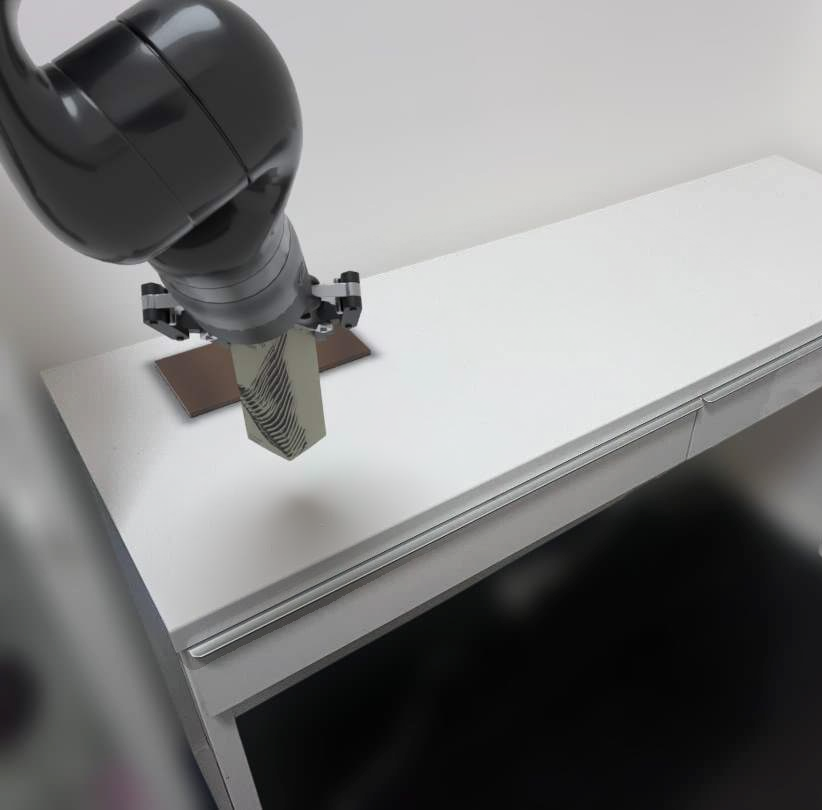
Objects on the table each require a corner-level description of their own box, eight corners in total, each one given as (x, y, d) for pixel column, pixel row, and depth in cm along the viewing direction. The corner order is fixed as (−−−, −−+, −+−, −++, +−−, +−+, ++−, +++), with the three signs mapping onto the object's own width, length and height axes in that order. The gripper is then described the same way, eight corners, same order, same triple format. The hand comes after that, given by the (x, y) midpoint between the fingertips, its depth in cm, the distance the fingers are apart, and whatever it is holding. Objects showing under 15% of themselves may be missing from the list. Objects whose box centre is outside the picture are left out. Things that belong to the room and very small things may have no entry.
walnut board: (190, 417, 80) (189, 413, 80) (155, 365, 87) (153, 360, 86) (371, 354, 90) (370, 349, 90) (326, 311, 97) (326, 307, 96)
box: (246, 440, 66) (215, 303, 58) (286, 414, 69) (262, 280, 61) (293, 465, 64) (267, 326, 56) (332, 436, 67) (313, 301, 59)
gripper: (358, 196, 48) (364, 279, 64) (94, 207, 45) (171, 290, 61) (370, 319, 47) (373, 371, 63) (102, 338, 44) (177, 387, 60)
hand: (273, 331), depth 62 cm, fingers closed on box, 6 cm apart
